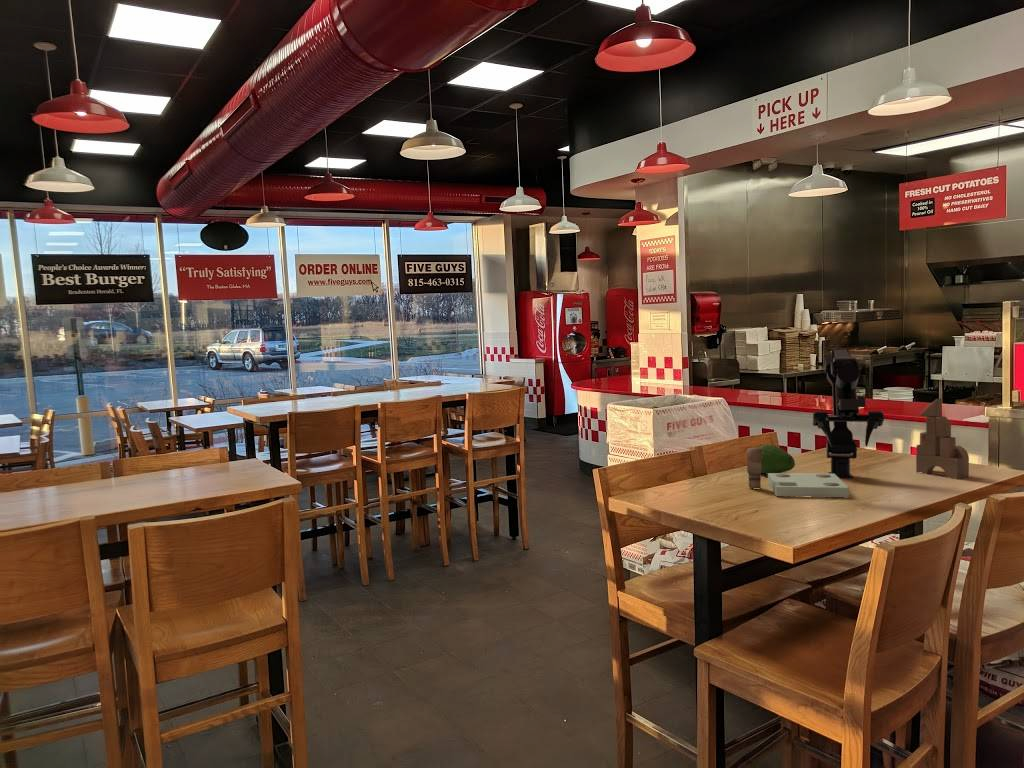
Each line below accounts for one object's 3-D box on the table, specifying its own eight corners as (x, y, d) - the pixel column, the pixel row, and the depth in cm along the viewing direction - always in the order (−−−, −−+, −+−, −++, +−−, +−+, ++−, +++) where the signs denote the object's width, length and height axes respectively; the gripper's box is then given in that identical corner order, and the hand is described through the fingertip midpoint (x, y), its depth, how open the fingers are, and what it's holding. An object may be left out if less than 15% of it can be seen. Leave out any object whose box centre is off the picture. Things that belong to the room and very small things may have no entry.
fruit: (801, 475, 243) (801, 445, 242) (783, 479, 237) (783, 449, 236) (762, 469, 255) (762, 441, 254) (745, 473, 249) (744, 444, 249)
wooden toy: (970, 476, 231) (970, 398, 229) (957, 479, 228) (958, 400, 226) (923, 469, 245) (923, 395, 243) (911, 471, 242) (911, 397, 240)
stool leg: (747, 486, 229) (746, 447, 228) (761, 487, 228) (760, 447, 227) (748, 489, 225) (747, 450, 224) (762, 490, 224) (761, 450, 223)
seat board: (768, 482, 234) (767, 472, 234) (834, 482, 230) (834, 473, 229) (776, 496, 215) (775, 486, 215) (848, 497, 210) (848, 487, 210)
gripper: (813, 386, 212) (815, 436, 206) (884, 385, 206) (888, 436, 200) (811, 400, 222) (813, 449, 216) (879, 400, 215) (883, 450, 209)
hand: (848, 446), depth 210 cm, fingers open, 9 cm apart
